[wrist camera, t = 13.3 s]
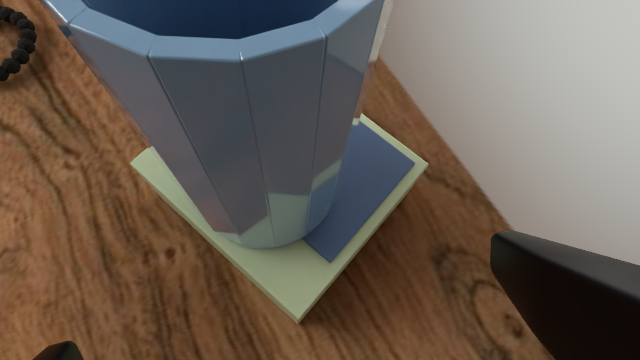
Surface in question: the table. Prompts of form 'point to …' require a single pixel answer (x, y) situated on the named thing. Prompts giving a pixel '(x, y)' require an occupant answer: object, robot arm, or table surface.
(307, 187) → the blue hollow cylinder
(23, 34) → the bracelet
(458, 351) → the table surface
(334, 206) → the box
